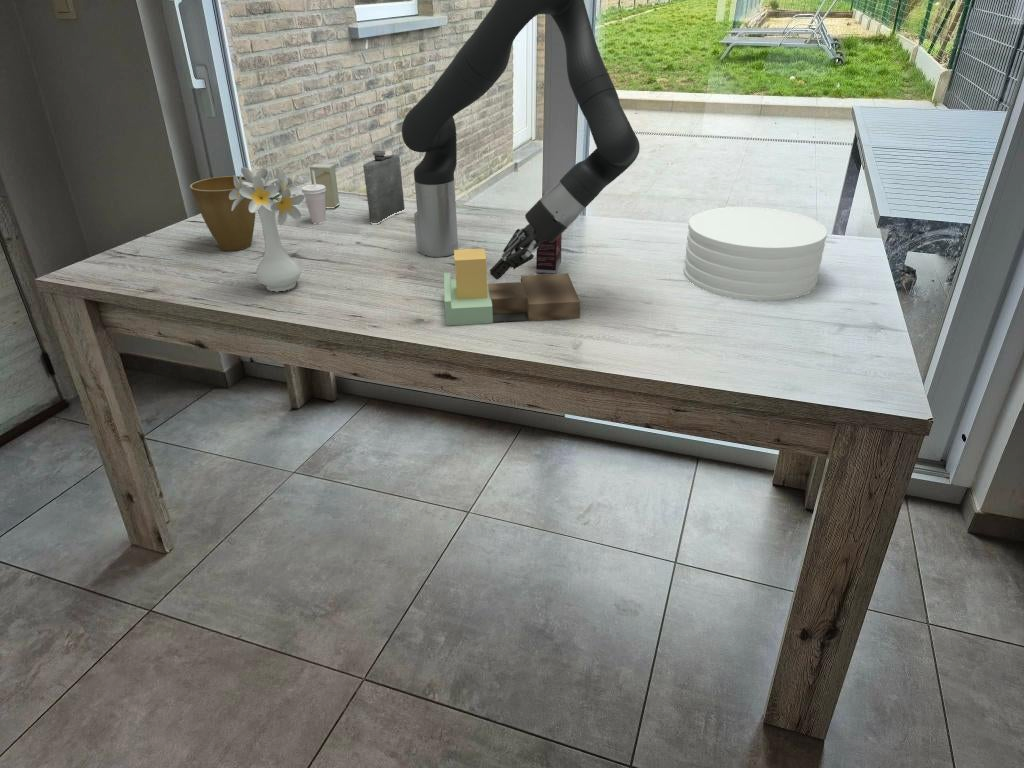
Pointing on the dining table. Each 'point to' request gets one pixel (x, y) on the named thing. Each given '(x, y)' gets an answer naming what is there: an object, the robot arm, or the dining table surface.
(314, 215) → the smoothie
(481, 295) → the block
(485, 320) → the pale green stepped block
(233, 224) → the plant pot
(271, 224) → the flower vase
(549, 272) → the supplement box
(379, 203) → the flask
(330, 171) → the skincare box
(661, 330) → the dining table surface
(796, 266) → the plate stack
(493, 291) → the board
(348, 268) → the dining table surface
